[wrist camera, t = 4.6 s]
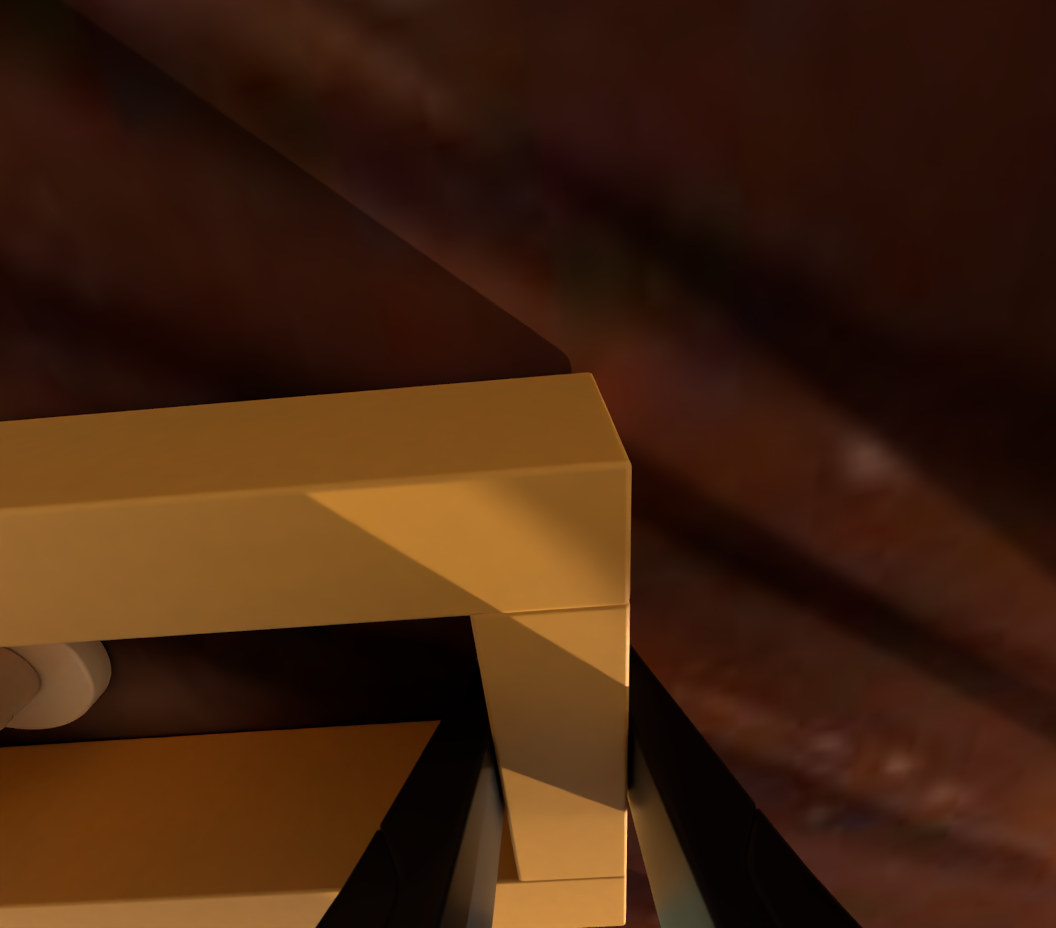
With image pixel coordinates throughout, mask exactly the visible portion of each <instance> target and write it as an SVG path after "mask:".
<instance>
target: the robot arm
mask: <svg viewBox="0 0 1056 928" xmlns="http://www.w3.org/2000/svg"><path fill="white" fill-rule="evenodd" d="M627 797H628V801H629V805H630V809H631V813H632V817H633V821H634V825H635V828H636V832H637V836H638V840H639V844H640V848H641V852H642V856H643V860H644V864H645V868H646V871H647V875H648V879H649V883H650V887H651V891H652V895H653V899H654V903H655V907H656V910H657V914H658V918H659V922H660V926H661V928H862V927H861V926H860V925H859V923H858V922H857V921H856V920H855V919H854V918H853V917H852V916H851V915H850V914H849V913H848V912H847V911H846V910H845V908H844V907H843V906H842V905H841V904H840V903H839V902H838V901H837V900H836V899H835V897H834V896H833V895H832V894H831V893H830V892H829V891H828V890H827V889H826V887H825V886H824V885H823V884H822V883H821V882H820V881H819V880H818V879H817V877H816V876H815V875H814V874H813V873H812V872H811V871H810V870H809V869H808V867H807V866H806V865H805V864H804V863H803V861H802V860H801V859H800V858H799V857H798V855H797V854H796V853H795V852H794V850H793V849H792V848H791V847H790V846H789V844H788V843H787V842H786V841H785V840H784V838H783V837H782V836H781V835H780V834H779V832H778V831H777V830H776V828H775V827H774V826H773V825H772V823H771V822H770V821H769V820H768V818H767V817H766V816H765V814H764V813H763V812H762V811H761V810H760V809H756V803H755V802H754V801H753V800H752V798H751V797H750V796H749V794H748V793H747V792H746V791H745V789H744V788H743V787H742V786H741V784H740V783H739V782H738V780H737V779H736V778H735V777H734V775H733V774H732V773H731V772H730V770H729V769H728V768H727V767H726V765H725V764H724V763H723V761H722V760H721V759H720V758H719V756H718V755H717V754H716V753H715V751H714V750H713V749H712V747H711V746H710V745H709V744H708V742H707V741H706V740H705V739H704V737H703V736H702V735H701V733H700V732H699V731H698V730H697V728H696V727H695V726H694V725H693V723H692V722H691V721H690V720H689V718H688V717H687V716H686V714H685V713H684V712H683V711H682V709H681V708H680V707H679V706H678V704H677V703H676V702H675V700H674V699H673V698H672V697H671V695H670V694H669V693H668V692H667V690H666V689H665V688H664V687H663V685H662V684H661V683H660V681H659V680H658V679H657V678H656V676H655V675H654V674H653V673H652V671H651V670H650V669H649V667H648V666H647V665H646V664H645V662H644V661H643V660H642V659H641V657H640V656H639V655H638V653H637V652H636V651H635V650H634V648H633V647H632V646H631V645H630V644H629V716H628V789H627ZM504 807H505V803H504V798H503V792H502V787H501V781H500V776H499V770H498V765H497V760H496V754H495V749H494V743H493V738H492V732H491V727H490V722H489V716H488V711H487V705H486V700H485V695H484V689H483V684H482V678H481V673H480V667H479V662H478V657H477V659H476V661H475V663H474V664H473V666H472V668H471V669H470V671H469V673H468V675H467V676H466V678H465V680H464V681H463V683H462V685H461V687H460V688H459V690H458V692H457V693H456V695H455V697H454V699H453V700H452V702H451V704H450V705H449V707H448V709H447V711H446V712H445V714H444V716H443V718H442V719H441V721H440V723H439V724H438V726H437V728H436V730H435V731H434V733H433V735H432V736H431V738H430V740H429V742H428V743H427V745H426V747H425V748H424V750H423V752H422V754H421V755H420V757H419V759H418V760H417V762H416V764H415V766H414V767H413V769H412V771H411V772H410V774H409V776H408V778H407V779H406V781H405V783H404V785H403V786H402V788H401V790H400V791H399V793H398V795H397V797H396V798H395V800H394V802H393V803H392V805H391V807H390V809H389V810H388V812H387V814H386V815H385V817H384V819H383V821H382V822H381V824H380V829H381V830H377V831H376V832H375V834H374V836H373V837H372V839H371V841H370V843H369V844H368V846H367V848H366V849H365V851H364V853H363V855H362V856H361V858H360V860H359V861H358V863H357V864H356V866H355V868H354V869H353V871H352V873H351V874H350V876H349V877H348V879H347V881H346V882H345V884H344V886H343V887H342V889H341V890H340V892H339V894H338V895H337V896H336V898H335V899H334V901H333V902H332V904H331V905H330V907H329V908H328V910H327V911H326V913H325V914H324V916H323V917H322V919H321V920H320V922H319V923H318V925H317V926H316V927H315V928H492V923H493V914H494V904H495V894H496V885H497V875H498V865H499V855H500V846H501V836H502V826H503V817H504Z"/></svg>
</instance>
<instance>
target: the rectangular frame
mask: <svg viewBox="0 0 1056 928" xmlns="http://www.w3.org/2000/svg"><path fill="white" fill-rule="evenodd" d="M631 483H632V465H631V463H630V460H629V458H628V456H627V453H626V451H625V449H624V447H623V444H622V442H621V440H620V437H619V435H618V433H617V430H616V428H615V426H614V424H613V421H612V419H611V417H610V414H609V412H608V410H607V407H606V405H605V403H604V400H603V398H602V396H601V394H600V391H599V389H598V387H597V384H596V382H595V380H594V377H593V375H592V374H591V373H588V372H586V373H574V374H562V375H550V376H538V377H526V378H514V379H502V380H490V381H479V382H467V383H455V384H443V385H431V386H419V387H407V388H395V389H383V390H372V391H360V392H348V393H336V394H324V395H312V396H300V397H288V398H276V399H264V400H253V401H241V402H229V403H217V404H205V405H193V406H181V407H169V408H157V409H145V410H134V411H122V412H110V413H98V414H86V415H74V416H62V417H50V418H38V419H26V420H15V421H3V422H0V647H14V646H29V645H43V644H58V643H73V642H87V641H102V640H117V639H131V638H146V637H160V636H175V635H190V634H204V633H219V632H233V631H248V630H263V629H277V628H292V627H307V626H321V625H336V624H350V623H365V622H380V621H394V620H409V619H424V618H438V617H453V616H467V615H470V619H471V624H472V629H473V635H474V640H475V646H476V651H477V657H478V662H479V667H480V673H481V678H482V684H483V689H484V695H485V700H486V705H487V711H488V716H489V722H490V727H491V732H492V738H493V743H494V749H495V754H496V760H497V765H498V770H499V776H500V781H501V787H502V792H503V798H504V803H505V807H504V817H503V826H502V836H501V846H500V855H499V865H498V875H497V885H496V894H495V904H494V914H493V923H492V928H583V927H605V926H623V925H625V923H626V862H627V789H628V716H629V643H630V603H629V598H630V557H631ZM440 721H441V720H433V721H417V722H401V723H385V724H368V725H352V726H336V727H320V728H303V729H287V730H271V731H254V732H238V733H222V734H206V735H189V736H173V737H157V738H141V739H124V740H108V741H92V742H76V743H59V744H43V745H27V746H11V747H0V928H315V927H316V926H317V925H318V923H319V922H320V920H321V919H322V917H323V916H324V914H325V913H326V911H327V910H328V908H329V907H330V905H331V904H332V902H333V901H334V899H335V898H336V896H337V895H338V894H339V892H340V890H341V889H342V887H343V886H344V884H345V882H346V881H347V879H348V877H349V876H350V874H351V873H352V871H353V869H354V868H355V866H356V864H357V863H358V861H359V860H360V858H361V856H362V855H363V853H364V851H365V849H366V848H367V846H368V844H369V843H370V841H371V839H372V837H373V836H374V834H375V832H376V831H377V830H381V829H380V824H381V822H382V821H383V819H384V817H385V815H386V814H387V812H388V810H389V809H390V807H391V805H392V803H393V802H394V800H395V798H396V797H397V795H398V793H399V791H400V790H401V788H402V786H403V785H404V783H405V781H406V779H407V778H408V776H409V774H410V772H411V771H412V769H413V767H414V766H415V764H416V762H417V760H418V759H419V757H420V755H421V754H422V752H423V750H424V748H425V747H426V745H427V743H428V742H429V740H430V738H431V736H432V735H433V733H434V731H435V730H436V728H437V726H438V724H439V723H440Z"/></svg>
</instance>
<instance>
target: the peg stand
mask: <svg viewBox="0 0 1056 928" xmlns="http://www.w3.org/2000/svg"><path fill="white" fill-rule="evenodd" d="M110 677H111V664H110V659H109V656H108V654H107V651H106V650H105V648H104V646H103V644H102V643H101V641H87V642H73V643H58V644H43V645H29V646H14V647H0V731H1V730H2V729H3V728H4V727H9V728H17V729H48V728H54V727H59V726H62V725H65V724H68V723H70V722H72V721H74V720H76V719H78V718H80V717H81V716H82V715H83V714H85V713H86V712H87V711H88V710H89V708H90V707H91V706H92V705H93V704H94V703H95V702H96V700H97V699H98V698H99V697H100V696H101V695H102V694H103V692H104V691H105V690H106V688H107V686H108V684H109V681H110Z"/></svg>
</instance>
